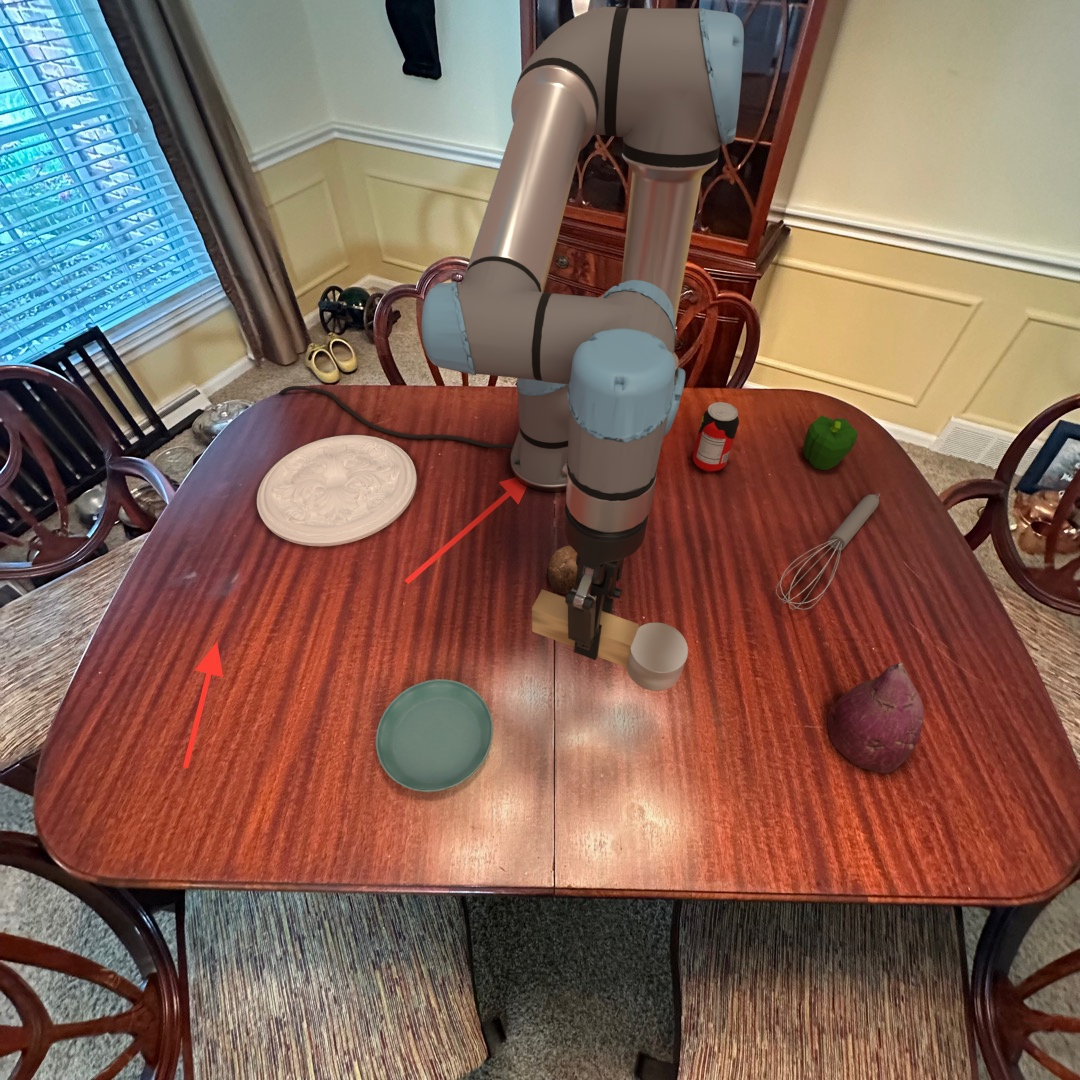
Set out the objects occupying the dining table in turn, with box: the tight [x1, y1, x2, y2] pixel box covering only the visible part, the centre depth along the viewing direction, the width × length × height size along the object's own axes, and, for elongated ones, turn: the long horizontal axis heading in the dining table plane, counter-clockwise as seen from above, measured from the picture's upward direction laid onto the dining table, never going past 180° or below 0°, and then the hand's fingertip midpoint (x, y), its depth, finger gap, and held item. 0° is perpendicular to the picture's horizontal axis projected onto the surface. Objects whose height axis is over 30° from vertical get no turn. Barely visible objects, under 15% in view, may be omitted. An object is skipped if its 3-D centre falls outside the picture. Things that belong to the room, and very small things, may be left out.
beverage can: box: [692, 401, 740, 472], centre depth 108 cm, size 6×6×12 cm
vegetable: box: [826, 662, 925, 774], centre depth 75 cm, size 10×10×15 cm
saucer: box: [375, 678, 494, 793], centre depth 77 cm, size 15×15×3 cm
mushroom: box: [546, 545, 579, 594], centre depth 93 cm, size 8×8×6 cm
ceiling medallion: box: [256, 434, 418, 547], centre depth 108 cm, size 28×28×3 cm
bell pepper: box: [802, 415, 858, 471], centre depth 110 cm, size 8×8×10 cm
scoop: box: [531, 589, 689, 692], centre depth 69 cm, size 18×6×5 cm, turn 66°
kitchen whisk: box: [775, 492, 881, 611], centre depth 96 cm, size 6×34×6 cm, turn 137°
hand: (591, 640), depth 72 cm, fingers closed on scoop, 3 cm apart
